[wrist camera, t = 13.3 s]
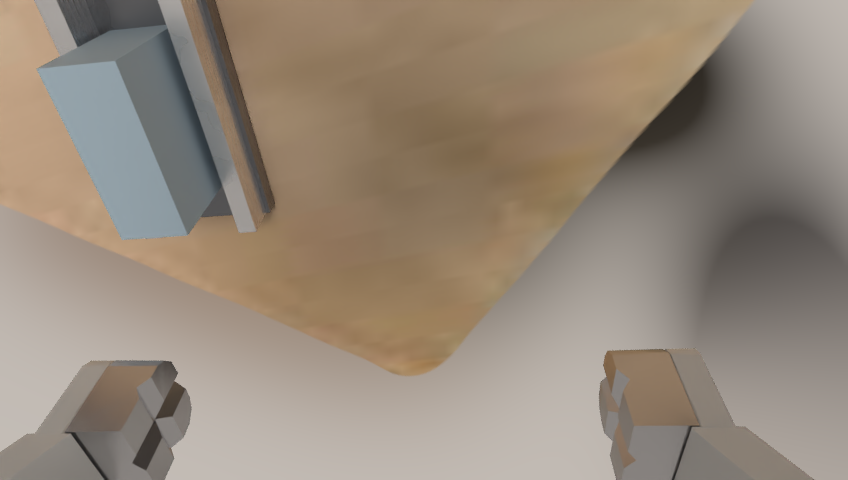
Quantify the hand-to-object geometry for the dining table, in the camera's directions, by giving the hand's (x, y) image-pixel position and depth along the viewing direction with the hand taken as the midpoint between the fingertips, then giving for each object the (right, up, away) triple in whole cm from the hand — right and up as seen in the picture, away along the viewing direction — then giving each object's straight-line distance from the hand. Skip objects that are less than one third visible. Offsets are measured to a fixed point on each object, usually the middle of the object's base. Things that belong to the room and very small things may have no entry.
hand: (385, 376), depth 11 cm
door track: (-15, +11, +26) cm, 32 cm away
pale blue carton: (-15, +11, +25) cm, 31 cm away
